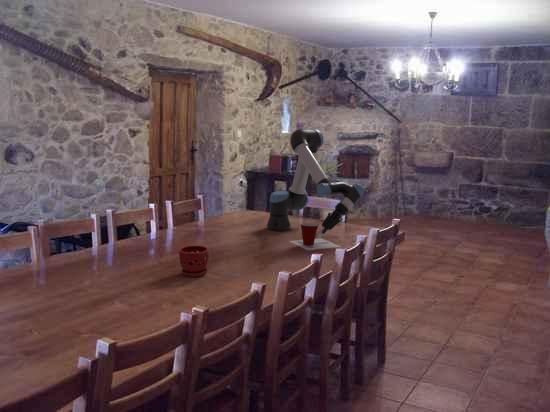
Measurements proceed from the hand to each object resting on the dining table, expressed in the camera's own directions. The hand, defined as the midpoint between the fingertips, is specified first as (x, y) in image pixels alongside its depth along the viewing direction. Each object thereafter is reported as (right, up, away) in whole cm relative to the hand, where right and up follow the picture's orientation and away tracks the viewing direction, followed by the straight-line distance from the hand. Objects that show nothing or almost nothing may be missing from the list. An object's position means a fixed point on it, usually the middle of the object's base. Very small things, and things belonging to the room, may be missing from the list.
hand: (317, 237), depth 324 cm
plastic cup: (-5, -4, -1) cm, 7 cm away
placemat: (-2, -4, 0) cm, 4 cm away
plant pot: (-61, -14, -65) cm, 90 cm away
